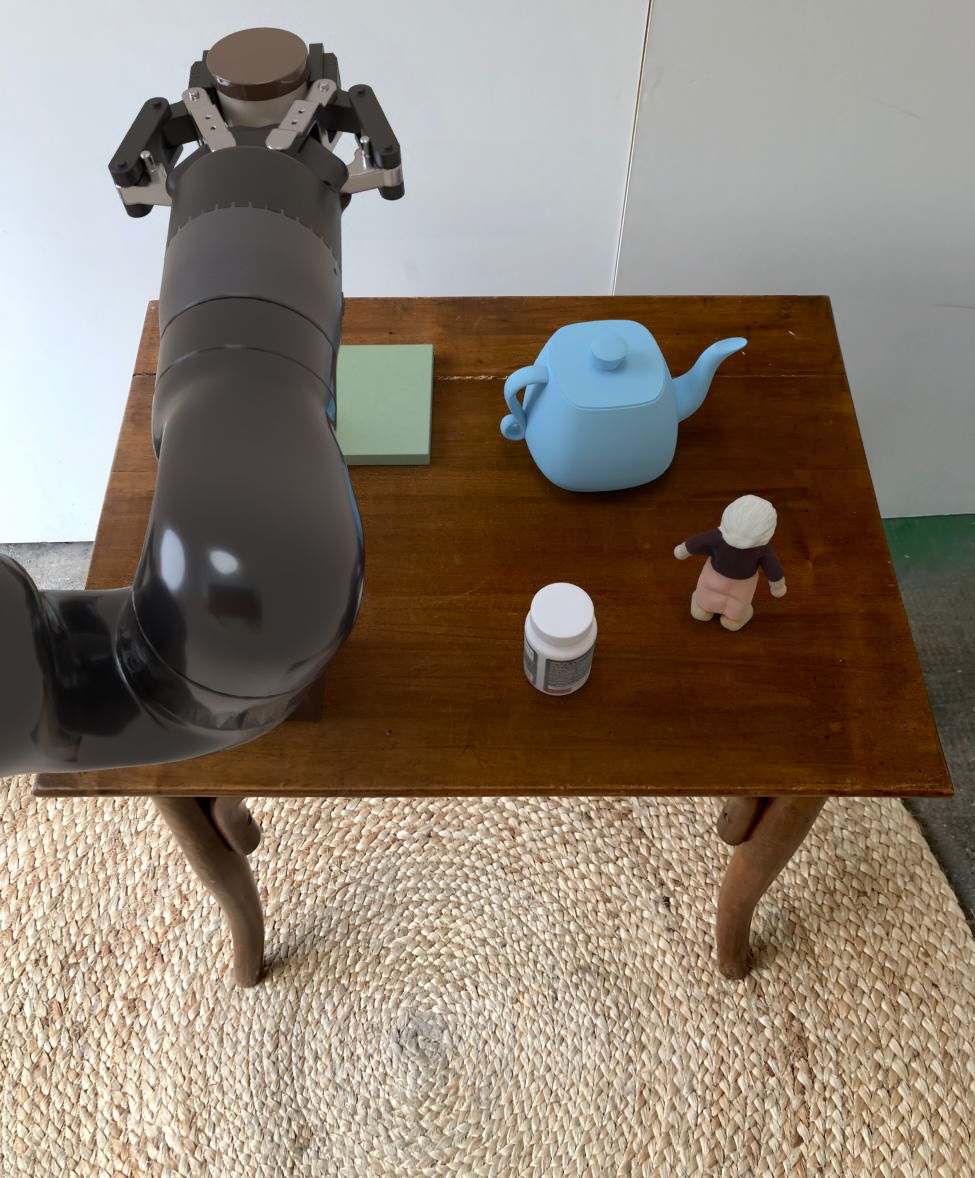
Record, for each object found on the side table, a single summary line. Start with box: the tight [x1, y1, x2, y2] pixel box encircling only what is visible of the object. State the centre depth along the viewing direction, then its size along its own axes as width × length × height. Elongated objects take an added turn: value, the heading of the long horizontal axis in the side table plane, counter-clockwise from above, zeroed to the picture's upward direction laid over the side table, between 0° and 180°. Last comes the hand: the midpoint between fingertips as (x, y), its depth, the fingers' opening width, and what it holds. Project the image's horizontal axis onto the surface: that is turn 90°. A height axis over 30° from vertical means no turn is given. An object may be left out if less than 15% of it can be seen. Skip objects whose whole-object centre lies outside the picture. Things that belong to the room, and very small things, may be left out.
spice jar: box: [207, 26, 311, 127], centre depth 49 cm, size 5×5×9 cm
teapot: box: [499, 319, 748, 493], centre depth 69 cm, size 13×11×18 cm
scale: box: [336, 343, 435, 466], centre depth 75 cm, size 15×13×3 cm
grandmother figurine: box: [673, 494, 787, 632], centre depth 61 cm, size 8×4×13 cm, turn 77°
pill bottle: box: [523, 582, 598, 696], centre depth 60 cm, size 5×5×8 cm
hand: (267, 64), depth 48 cm, fingers closed on spice jar, 5 cm apart
